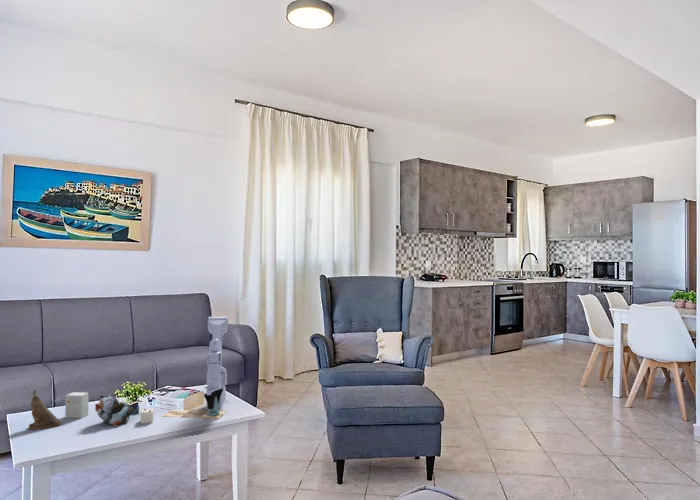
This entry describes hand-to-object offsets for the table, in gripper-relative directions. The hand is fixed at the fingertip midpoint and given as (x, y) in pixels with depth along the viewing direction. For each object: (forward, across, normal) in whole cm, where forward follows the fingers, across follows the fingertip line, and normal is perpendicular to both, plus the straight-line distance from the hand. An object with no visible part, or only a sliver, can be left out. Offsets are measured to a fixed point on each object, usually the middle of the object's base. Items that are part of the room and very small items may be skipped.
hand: (213, 406), depth 238 cm
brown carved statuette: (+4, +24, -67) cm, 71 cm away
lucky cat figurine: (+4, +15, -40) cm, 43 cm away
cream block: (+4, +13, -26) cm, 29 cm away
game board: (+4, 0, -9) cm, 10 cm away
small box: (+4, +9, -62) cm, 63 cm away
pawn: (+4, 0, 0) cm, 4 cm away
